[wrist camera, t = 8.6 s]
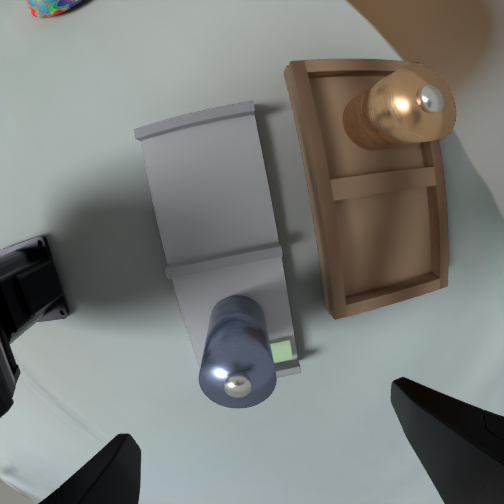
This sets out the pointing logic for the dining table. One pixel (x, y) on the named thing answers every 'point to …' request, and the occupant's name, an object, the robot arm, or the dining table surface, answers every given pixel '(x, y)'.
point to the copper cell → (401, 110)
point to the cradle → (218, 221)
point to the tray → (367, 194)
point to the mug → (50, 7)
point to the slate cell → (237, 354)
